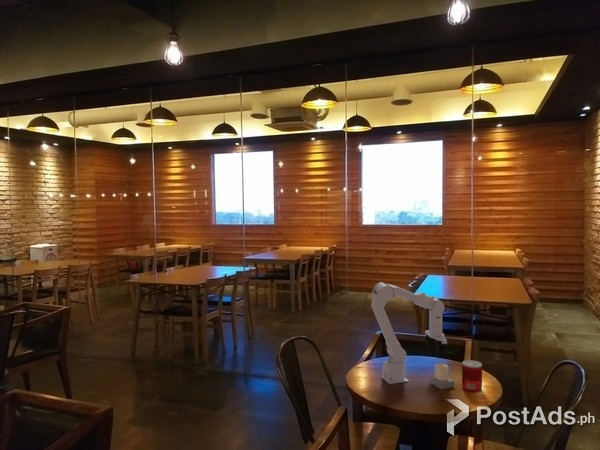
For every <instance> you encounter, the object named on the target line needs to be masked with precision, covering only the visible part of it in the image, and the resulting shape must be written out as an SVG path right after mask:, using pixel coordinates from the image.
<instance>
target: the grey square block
mask: <svg viewBox="0 0 600 450" xmlns="http://www.w3.org/2000/svg"><path fill="white" fill-rule="evenodd" d="M430 384H432V386H434V387H436V388H438V389H439V390H445V389H450V388H455V380H453V379H451V378H450V377H448V380H445V381H439V380H438V379H436V378H435V376H431V377H430Z"/></svg>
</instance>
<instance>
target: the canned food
mask: <svg viewBox="0 0 600 450" xmlns="http://www.w3.org/2000/svg"><path fill="white" fill-rule="evenodd" d="M461 387H462V389H463V390H464V391H467V392H471V393H479V392H481V391H482V389H483V364H482V362H480V361H477V360H472V359H471V360H470V359H468V360H463V361H462V363H461Z"/></svg>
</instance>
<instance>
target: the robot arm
mask: <svg viewBox="0 0 600 450" xmlns="http://www.w3.org/2000/svg"><path fill="white" fill-rule="evenodd" d="M396 297H401V298H404V299H407V300H409V301H412V302H413V304H414V305H415V306H419V307H422V308H424V309H426V310H428V312H429V313H428V329H427V330H424V334H425V336H423V340H424V342H425V344H426V346H427V351H428V353H429V354H431V353H434V350H435V348H436V355H437V358H438V359H442V358H444V355H445V352H446V350H447V347H448V346H449V342H448V339H447V338H445V333H443V312H444V310H445V304H444V302H443V301H442V300H440V299H438V298H436V297H435V296H433V295H432V296H430V295H427V294H426V293H425V292H423V291H421V292H420V291H419V292H417V293H413V292H412V291H409V290H406V289H404V288H402V287H399V286H397V285H394V284H389V283H385V282H382V281H380V282H377V283H376V284H375V285H374V287H373V288H372V297H371V303H370V307H371V309H372V311H373V313H374V316H375V318H376V320H377V324H378V325H379V328H380V330H381V333H382V335H383V337H384V339H385V344H386V352H387V354H388V358H387V360H385V361H383V362H382V372H381V374H382V376H381V378H382V379H383V380H384V381H385V382H386V383H388V384H390V385H393V384H400V383H406V382H407V383H408V382H409V379H407V378H406V375H405V372H406V371H405V370H406V369H405V367H406V363H405V360H406V359H407V351H406V350H405V349H404V348H403V347H402V345H401V343H400V342H399V340H398V338H397V336H396V334H395V332H394V329H393V327H392V324H391V322H390V319H389V317H388V314H387V312H386V309H385V307H386V304H387V303H388V302H389V301H390V300H391V299H392V298H396Z"/></svg>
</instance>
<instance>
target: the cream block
mask: <svg viewBox="0 0 600 450" xmlns="http://www.w3.org/2000/svg"><path fill="white" fill-rule="evenodd" d="M449 369H450V368H449V365H447V364H444V363H436V364H434V377H435V378H436V379H438V380H439V381H445V380H448V378H449Z"/></svg>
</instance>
